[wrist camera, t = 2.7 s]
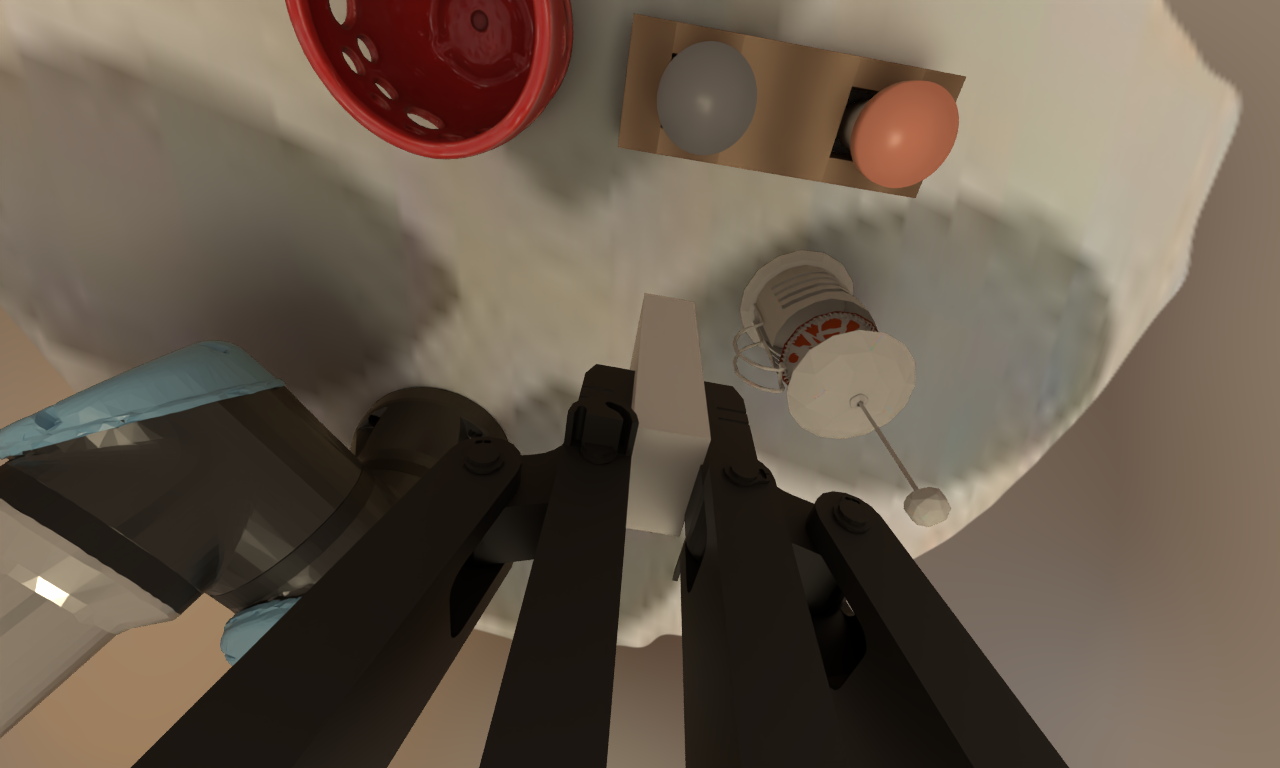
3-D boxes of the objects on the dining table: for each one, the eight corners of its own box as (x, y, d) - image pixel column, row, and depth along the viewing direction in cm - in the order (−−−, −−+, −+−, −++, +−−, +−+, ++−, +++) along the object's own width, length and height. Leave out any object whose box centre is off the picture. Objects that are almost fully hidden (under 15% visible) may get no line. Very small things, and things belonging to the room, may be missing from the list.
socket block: (621, 137, 38) (617, 147, 32) (635, 23, 34) (633, 13, 29) (880, 181, 39) (915, 198, 34) (919, 76, 35) (966, 76, 30)
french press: (846, 351, 47) (1015, 585, 25) (719, 360, 47) (778, 595, 26) (862, 245, 41) (1090, 425, 20) (719, 256, 42) (793, 442, 21)
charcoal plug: (649, 133, 34) (649, 146, 28) (663, 40, 31) (666, 31, 25) (725, 147, 34) (742, 162, 28) (745, 56, 31) (769, 51, 25)
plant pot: (416, -153, 30) (295, -273, 19) (615, -18, 33) (601, -60, 23) (365, 76, 36) (252, 76, 26) (538, 171, 39) (498, 206, 29)
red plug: (808, 161, 35) (843, 179, 28) (835, 73, 32) (880, 72, 26) (881, 174, 35) (931, 195, 29) (914, 87, 32) (977, 90, 26)
